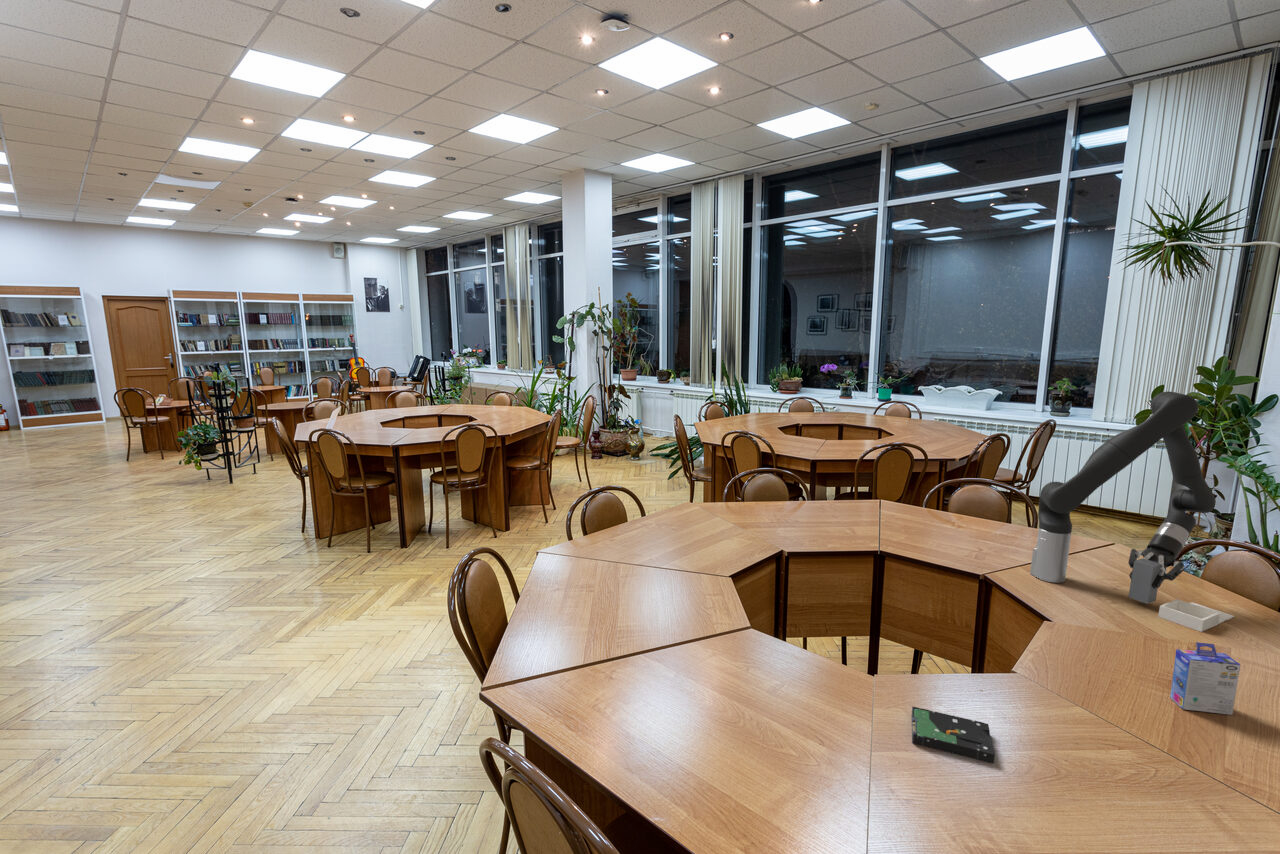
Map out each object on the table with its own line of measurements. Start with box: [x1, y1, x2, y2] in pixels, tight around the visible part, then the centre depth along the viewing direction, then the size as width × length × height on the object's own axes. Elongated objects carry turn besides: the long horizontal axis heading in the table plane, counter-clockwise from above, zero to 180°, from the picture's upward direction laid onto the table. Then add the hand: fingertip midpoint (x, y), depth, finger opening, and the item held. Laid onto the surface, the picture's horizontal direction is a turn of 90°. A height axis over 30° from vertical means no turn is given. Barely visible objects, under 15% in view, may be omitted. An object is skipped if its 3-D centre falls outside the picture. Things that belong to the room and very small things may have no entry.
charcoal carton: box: [1128, 557, 1162, 605], centre depth 188 cm, size 5×5×12 cm
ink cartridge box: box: [1169, 641, 1242, 716], centre depth 137 cm, size 10×6×14 cm, turn 78°
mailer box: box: [1157, 598, 1235, 633], centre depth 181 cm, size 10×20×4 cm, turn 117°
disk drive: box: [911, 706, 995, 764], centre depth 126 cm, size 10×3×15 cm
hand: (1142, 583), depth 187 cm, fingers closed on charcoal carton, 5 cm apart
